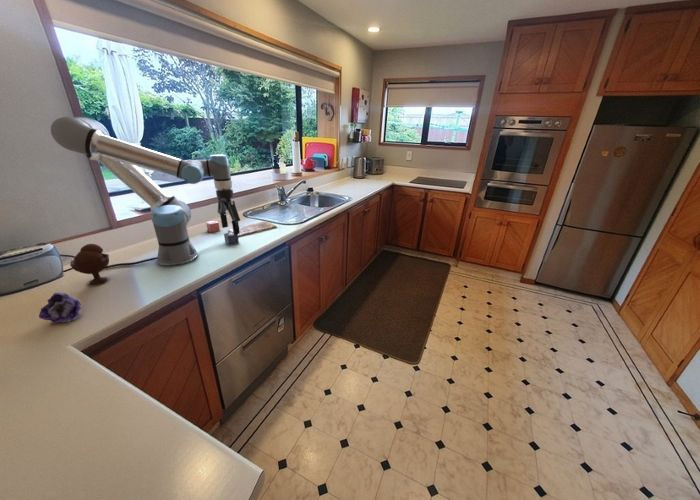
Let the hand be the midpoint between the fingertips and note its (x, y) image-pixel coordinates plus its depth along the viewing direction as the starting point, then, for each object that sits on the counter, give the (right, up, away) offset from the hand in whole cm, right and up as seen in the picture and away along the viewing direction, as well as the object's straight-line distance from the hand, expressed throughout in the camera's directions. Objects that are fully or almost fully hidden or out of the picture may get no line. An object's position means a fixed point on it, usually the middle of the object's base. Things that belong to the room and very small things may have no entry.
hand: (230, 230), depth 142 cm
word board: (+4, +2, +22) cm, 22 cm away
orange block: (-18, +1, +18) cm, 25 cm away
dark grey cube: (-1, -6, +3) cm, 7 cm away
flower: (-28, -31, -55) cm, 69 cm away
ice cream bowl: (-35, -22, -36) cm, 55 cm away
